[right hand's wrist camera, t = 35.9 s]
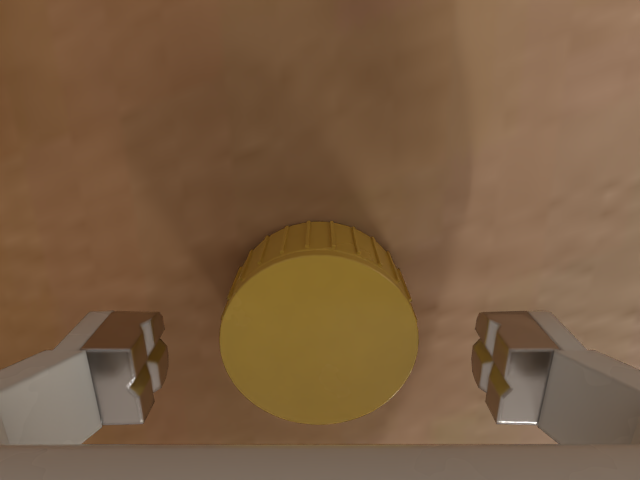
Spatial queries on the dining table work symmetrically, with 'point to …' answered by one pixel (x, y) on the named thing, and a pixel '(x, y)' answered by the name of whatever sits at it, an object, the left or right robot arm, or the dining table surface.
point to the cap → (318, 325)
